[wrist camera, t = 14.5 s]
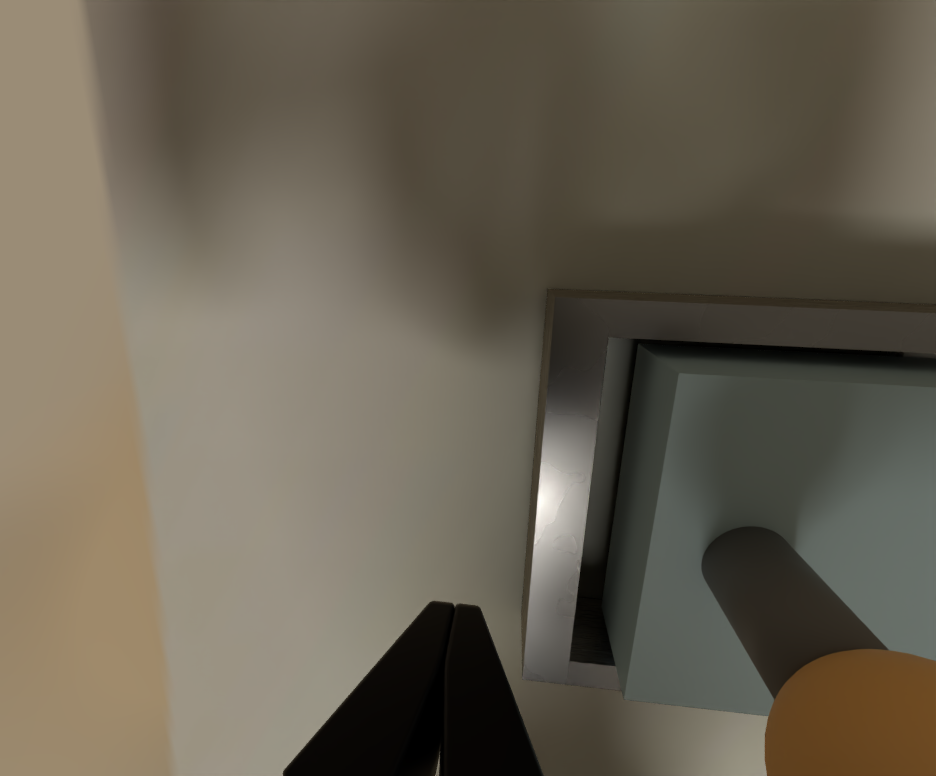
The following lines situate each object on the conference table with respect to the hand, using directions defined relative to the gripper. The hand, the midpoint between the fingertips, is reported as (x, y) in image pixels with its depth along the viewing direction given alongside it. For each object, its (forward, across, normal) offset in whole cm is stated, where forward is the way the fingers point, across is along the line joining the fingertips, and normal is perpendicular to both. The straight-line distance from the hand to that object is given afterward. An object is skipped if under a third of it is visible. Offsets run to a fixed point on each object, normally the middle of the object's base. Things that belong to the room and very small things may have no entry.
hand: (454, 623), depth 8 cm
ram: (+5, -8, 0) cm, 10 cm away
